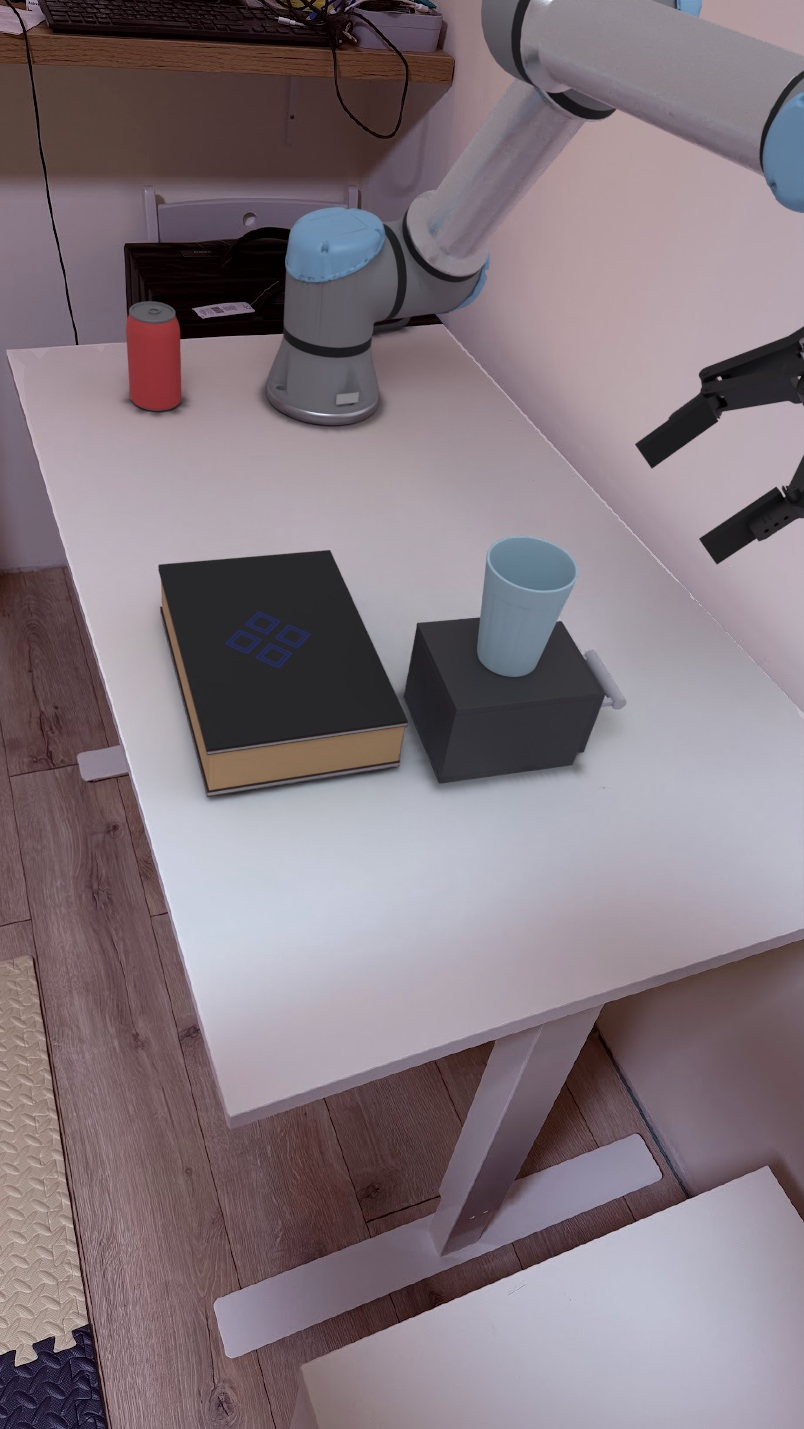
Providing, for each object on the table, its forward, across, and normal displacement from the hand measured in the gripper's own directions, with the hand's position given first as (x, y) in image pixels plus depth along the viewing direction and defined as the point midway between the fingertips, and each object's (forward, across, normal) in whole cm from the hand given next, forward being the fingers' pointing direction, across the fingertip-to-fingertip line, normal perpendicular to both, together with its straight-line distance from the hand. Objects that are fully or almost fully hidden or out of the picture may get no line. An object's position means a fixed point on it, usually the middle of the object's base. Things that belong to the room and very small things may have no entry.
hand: (673, 501), depth 82 cm
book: (+40, +7, +3) cm, 40 cm away
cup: (+19, 0, -4) cm, 20 cm away
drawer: (+23, 0, -13) cm, 26 cm away
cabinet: (+26, 0, -11) cm, 28 cm away
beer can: (+46, +62, +10) cm, 78 cm away
